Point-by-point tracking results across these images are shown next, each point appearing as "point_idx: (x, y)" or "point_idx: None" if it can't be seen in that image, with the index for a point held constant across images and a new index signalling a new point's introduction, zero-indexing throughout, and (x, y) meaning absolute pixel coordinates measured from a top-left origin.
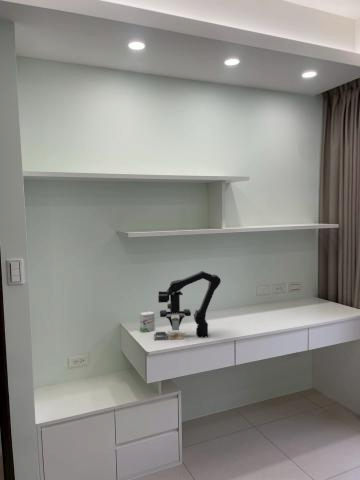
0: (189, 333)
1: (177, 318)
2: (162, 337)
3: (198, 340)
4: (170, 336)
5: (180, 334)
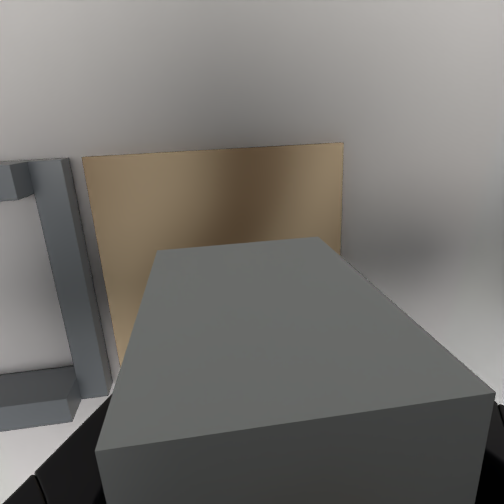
0: (464, 124)
1: (450, 431)
2: (13, 420)
3: (501, 392)
4: (145, 277)
5: (315, 193)
